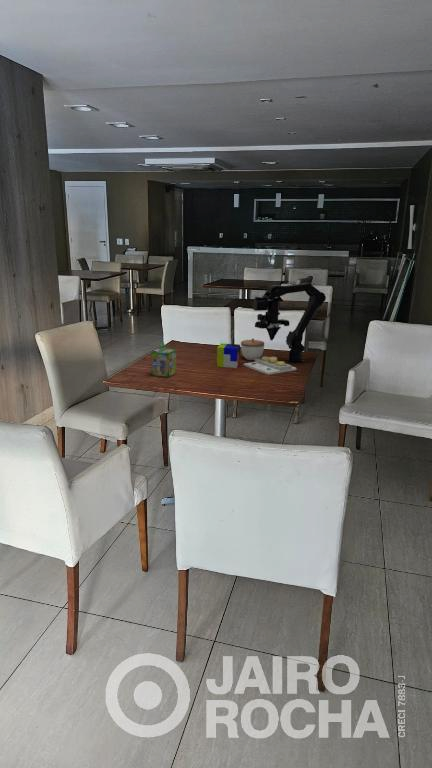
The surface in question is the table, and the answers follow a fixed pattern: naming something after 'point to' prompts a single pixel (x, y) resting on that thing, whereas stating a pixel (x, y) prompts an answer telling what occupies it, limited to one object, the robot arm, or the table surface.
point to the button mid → (273, 360)
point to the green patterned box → (163, 361)
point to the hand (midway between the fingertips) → (271, 340)
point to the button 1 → (265, 358)
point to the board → (268, 367)
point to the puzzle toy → (228, 355)
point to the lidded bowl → (252, 349)
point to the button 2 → (280, 363)
